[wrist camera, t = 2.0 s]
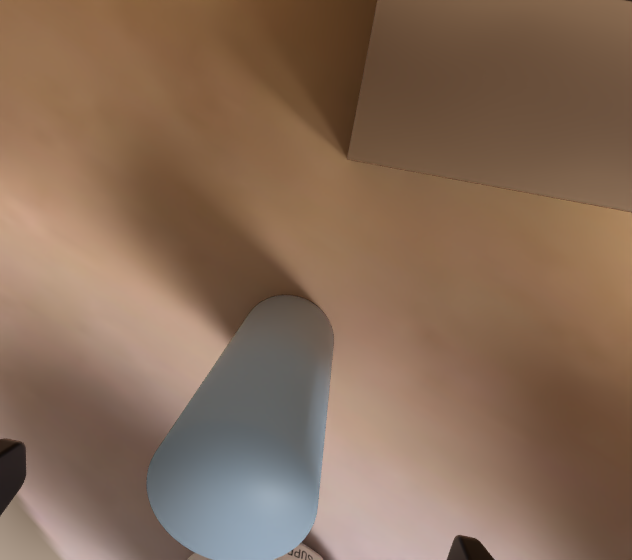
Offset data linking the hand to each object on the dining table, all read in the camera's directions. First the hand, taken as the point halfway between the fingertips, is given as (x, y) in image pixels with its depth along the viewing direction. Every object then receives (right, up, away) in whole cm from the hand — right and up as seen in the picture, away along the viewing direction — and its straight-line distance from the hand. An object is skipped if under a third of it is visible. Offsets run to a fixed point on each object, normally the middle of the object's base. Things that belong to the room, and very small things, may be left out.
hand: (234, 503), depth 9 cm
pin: (+1, +2, +8) cm, 8 cm away
